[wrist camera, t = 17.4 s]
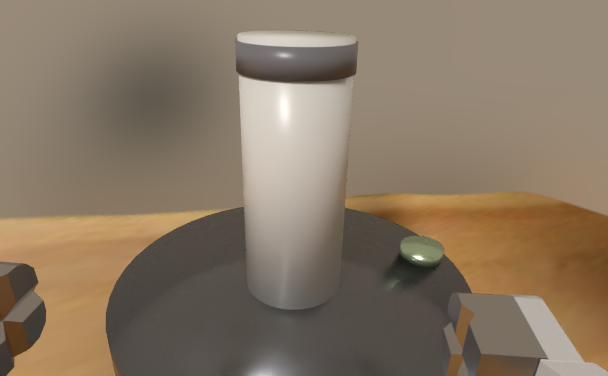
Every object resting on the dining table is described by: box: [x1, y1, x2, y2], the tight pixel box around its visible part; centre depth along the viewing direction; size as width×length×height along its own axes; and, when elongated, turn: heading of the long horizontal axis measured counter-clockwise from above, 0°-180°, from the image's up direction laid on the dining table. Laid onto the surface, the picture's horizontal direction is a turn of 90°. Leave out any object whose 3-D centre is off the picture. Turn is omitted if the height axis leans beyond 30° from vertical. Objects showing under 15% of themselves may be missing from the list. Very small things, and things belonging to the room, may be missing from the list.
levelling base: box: [106, 207, 471, 376], centre depth 23 cm, size 18×18×4 cm
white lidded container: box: [235, 30, 358, 310], centre depth 20 cm, size 5×5×12 cm
